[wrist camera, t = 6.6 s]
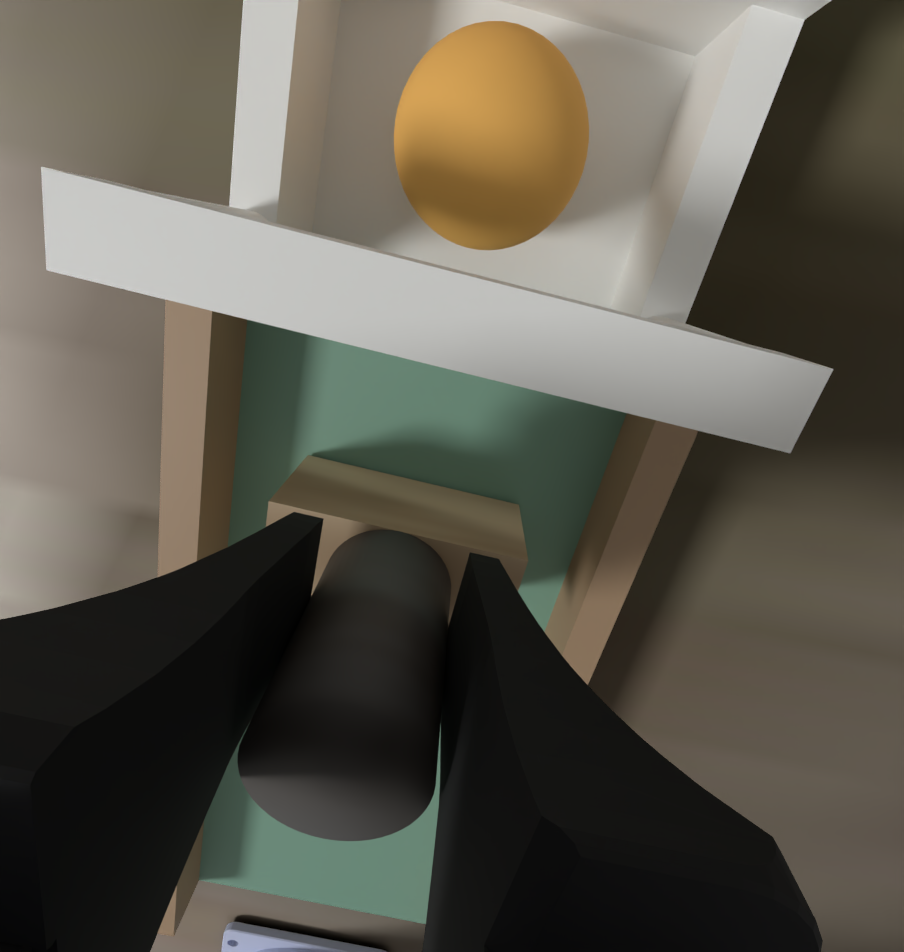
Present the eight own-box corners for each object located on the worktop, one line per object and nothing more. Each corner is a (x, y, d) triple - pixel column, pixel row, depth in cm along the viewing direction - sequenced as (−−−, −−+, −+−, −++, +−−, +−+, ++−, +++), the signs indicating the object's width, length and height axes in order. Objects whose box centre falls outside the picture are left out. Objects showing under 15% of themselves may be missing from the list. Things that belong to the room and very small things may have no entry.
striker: (491, 591, 16) (502, 874, 9) (294, 547, 16) (136, 800, 9) (518, 504, 15) (559, 744, 8) (307, 455, 15) (137, 654, 7)
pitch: (458, 891, 24) (449, 1176, 17) (192, 838, 24) (60, 1109, 16) (792, 31, 12) (1305, -332, 5) (264, -121, 12) (-131, -817, 4)
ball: (545, 255, 14) (560, 287, 11) (396, 216, 14) (361, 236, 10) (601, 68, 12) (641, 33, 9) (426, 19, 12) (396, -36, 8)
